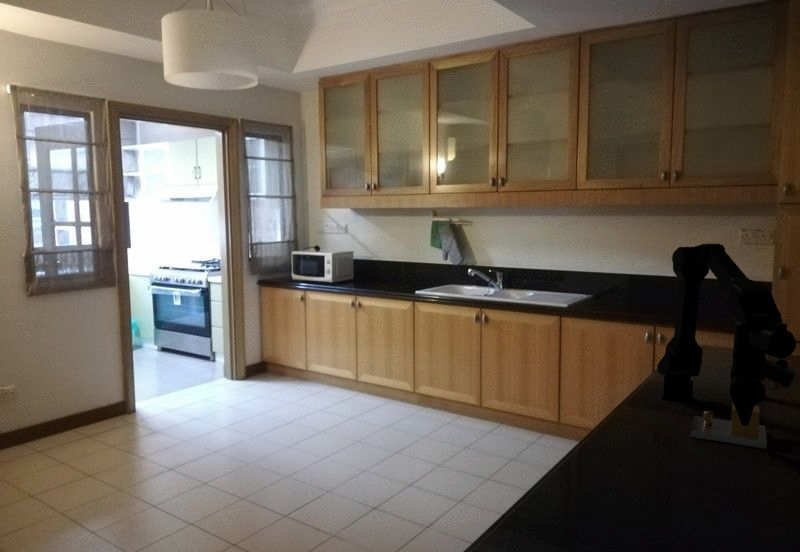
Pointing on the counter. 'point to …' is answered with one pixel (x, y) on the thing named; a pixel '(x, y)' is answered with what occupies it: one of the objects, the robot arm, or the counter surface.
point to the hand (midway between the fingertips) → (744, 419)
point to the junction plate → (725, 432)
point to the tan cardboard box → (752, 426)
